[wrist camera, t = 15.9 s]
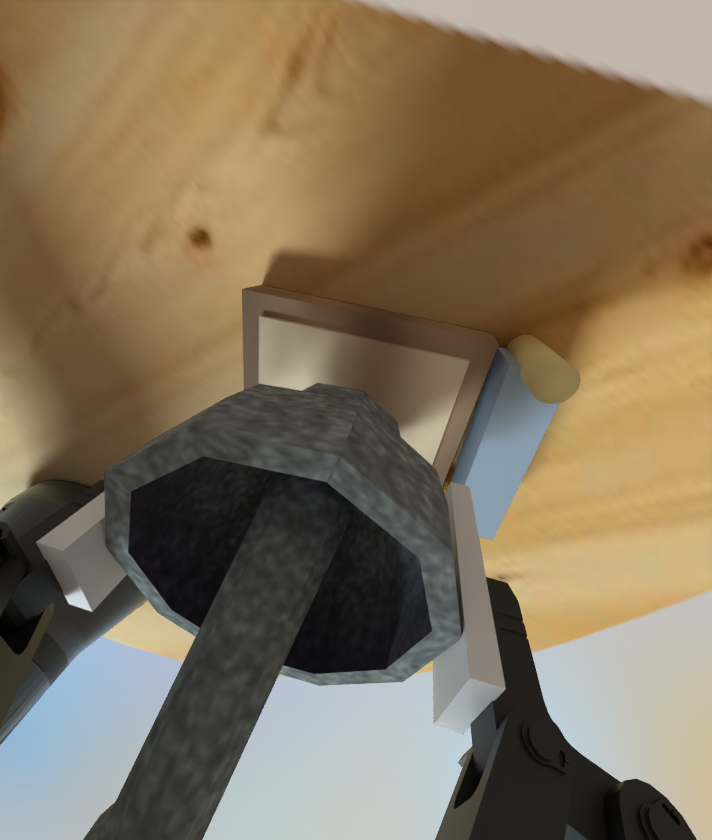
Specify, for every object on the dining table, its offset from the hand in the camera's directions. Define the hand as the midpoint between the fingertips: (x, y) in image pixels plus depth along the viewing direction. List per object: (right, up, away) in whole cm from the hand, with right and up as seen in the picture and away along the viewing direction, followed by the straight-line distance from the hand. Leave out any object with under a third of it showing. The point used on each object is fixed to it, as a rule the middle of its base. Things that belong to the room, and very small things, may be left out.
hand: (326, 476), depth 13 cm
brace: (+9, +2, +4) cm, 10 cm away
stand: (+1, +3, +6) cm, 6 cm away
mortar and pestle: (0, +1, +1) cm, 1 cm away
